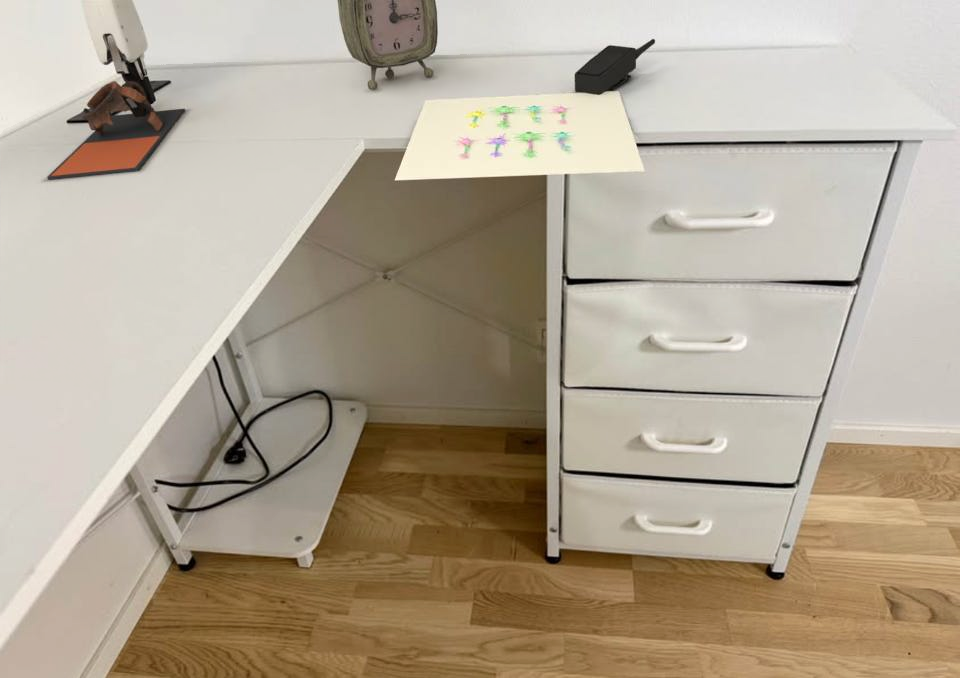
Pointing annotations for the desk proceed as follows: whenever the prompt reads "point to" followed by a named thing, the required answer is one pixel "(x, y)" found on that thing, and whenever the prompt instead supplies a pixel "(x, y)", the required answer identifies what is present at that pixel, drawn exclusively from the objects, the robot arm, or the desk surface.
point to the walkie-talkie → (608, 69)
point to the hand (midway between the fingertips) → (145, 103)
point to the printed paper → (521, 137)
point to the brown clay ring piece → (119, 105)
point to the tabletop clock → (389, 33)
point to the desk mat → (117, 146)
